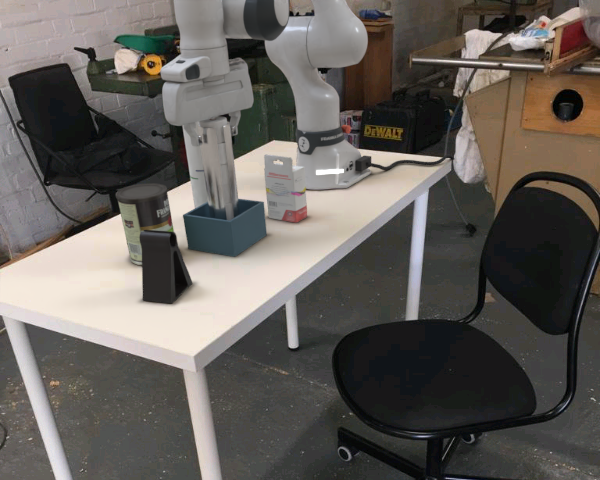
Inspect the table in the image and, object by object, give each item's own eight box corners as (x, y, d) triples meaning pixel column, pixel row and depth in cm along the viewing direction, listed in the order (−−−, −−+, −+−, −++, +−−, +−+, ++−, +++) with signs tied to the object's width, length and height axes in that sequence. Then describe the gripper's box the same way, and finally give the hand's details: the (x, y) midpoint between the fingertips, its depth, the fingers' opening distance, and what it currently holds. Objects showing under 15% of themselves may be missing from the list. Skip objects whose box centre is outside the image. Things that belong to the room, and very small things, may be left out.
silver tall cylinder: (211, 245, 140) (193, 123, 125) (216, 234, 145) (199, 115, 130) (240, 244, 139) (226, 121, 125) (244, 233, 144) (231, 114, 130)
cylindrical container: (221, 225, 151) (206, 111, 136) (192, 225, 152) (175, 112, 138) (230, 215, 156) (216, 104, 142) (202, 214, 158) (186, 105, 143)
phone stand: (165, 281, 127) (154, 221, 120) (192, 283, 125) (182, 223, 118) (142, 301, 120) (129, 239, 113) (171, 304, 118) (159, 242, 111)
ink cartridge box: (308, 216, 152) (305, 152, 144) (296, 223, 149) (292, 158, 141) (279, 211, 157) (275, 149, 148) (267, 217, 154) (261, 154, 145)
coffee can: (184, 247, 141) (173, 182, 133) (169, 266, 133) (156, 198, 125) (140, 246, 143) (126, 182, 135) (122, 265, 134) (107, 198, 126)
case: (222, 228, 149) (217, 195, 145) (266, 235, 144) (263, 201, 140) (188, 249, 140) (182, 214, 136) (234, 256, 135) (230, 221, 131)
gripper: (235, 55, 130) (242, 127, 138) (152, 71, 118) (165, 149, 126) (256, 56, 126) (263, 131, 134) (173, 73, 114) (185, 153, 122)
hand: (215, 140), depth 130 cm, fingers open, 8 cm apart
